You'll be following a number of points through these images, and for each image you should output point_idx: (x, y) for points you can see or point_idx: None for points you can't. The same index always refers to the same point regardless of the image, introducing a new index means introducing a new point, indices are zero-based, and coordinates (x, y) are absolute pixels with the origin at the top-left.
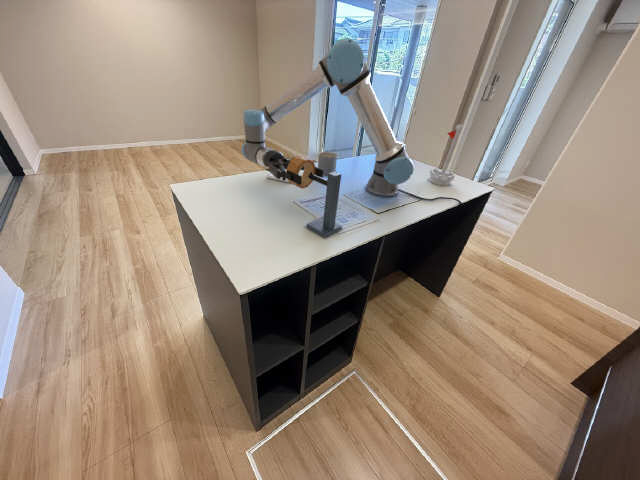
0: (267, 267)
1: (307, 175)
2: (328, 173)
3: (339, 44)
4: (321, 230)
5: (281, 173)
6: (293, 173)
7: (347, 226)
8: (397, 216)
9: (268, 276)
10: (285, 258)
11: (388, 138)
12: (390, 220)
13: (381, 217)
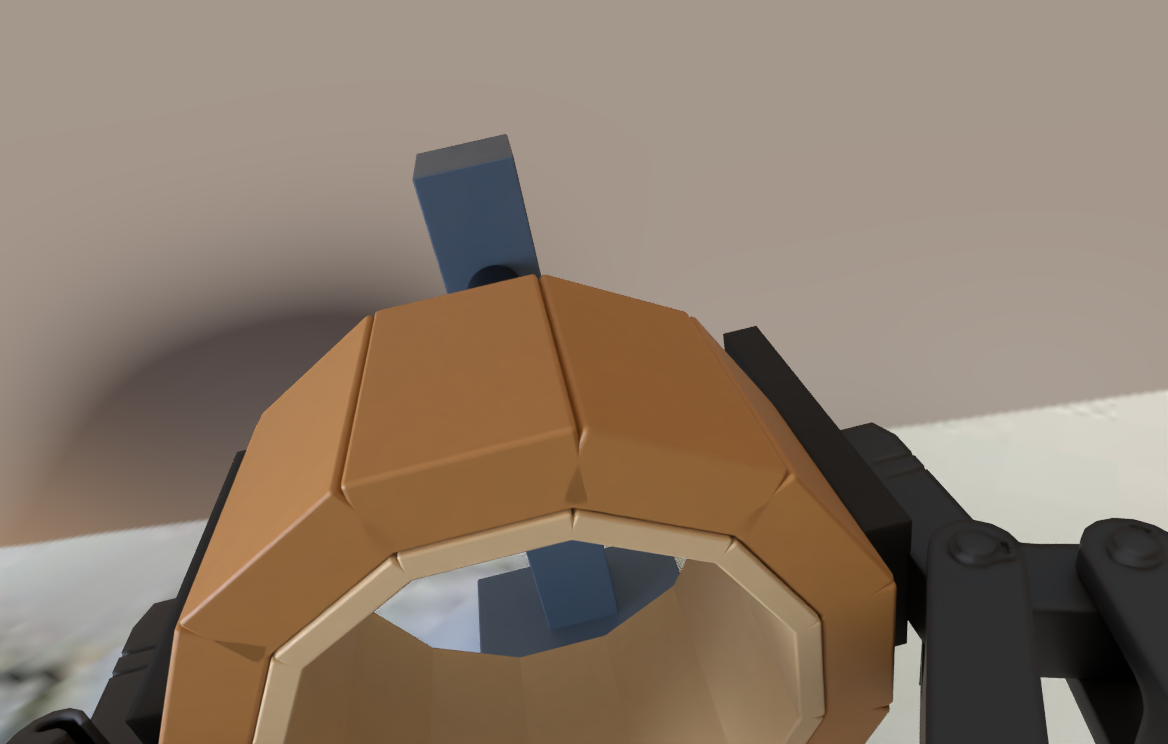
0: (1149, 448)
1: (389, 720)
2: (510, 155)
3: None
4: (661, 575)
5: (1048, 547)
6: (807, 408)
7: (417, 614)
8: (27, 596)
9: (1138, 404)
10: (1018, 477)
11: None
12: (122, 575)
13: (110, 623)
